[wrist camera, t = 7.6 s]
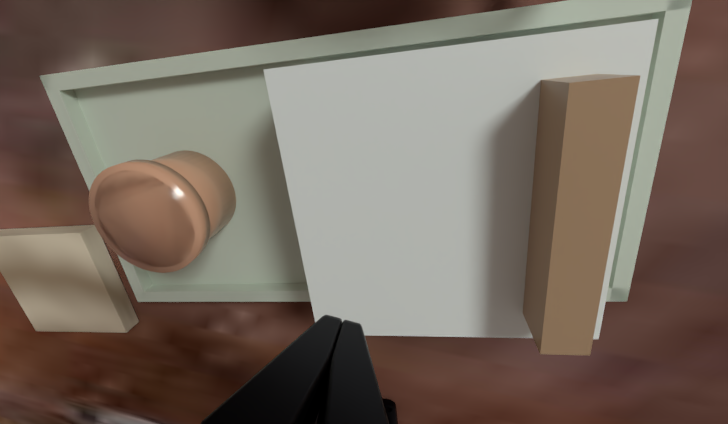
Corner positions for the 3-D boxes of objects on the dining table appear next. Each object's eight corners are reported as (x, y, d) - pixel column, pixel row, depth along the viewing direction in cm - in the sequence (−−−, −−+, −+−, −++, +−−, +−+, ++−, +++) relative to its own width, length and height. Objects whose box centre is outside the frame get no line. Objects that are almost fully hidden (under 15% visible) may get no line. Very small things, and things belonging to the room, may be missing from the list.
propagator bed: (611, 283, 19) (626, 301, 18) (154, 287, 24) (137, 301, 23) (666, -9, 14) (696, -18, 12) (68, 75, 19) (39, 75, 17)
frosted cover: (557, 276, 18) (628, 384, 12) (338, 279, 20) (303, 372, 14) (586, 33, 14) (721, 6, 8) (303, 68, 16) (231, 69, 10)
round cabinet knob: (251, 234, 20) (214, 272, 17) (167, 238, 21) (116, 273, 18) (226, 140, 18) (178, 159, 15) (135, 149, 19) (69, 168, 16)
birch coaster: (139, 321, 26) (126, 332, 25) (51, 320, 27) (36, 331, 26) (95, 224, 23) (79, 232, 22) (-1, 229, 24) (-20, 237, 23)
